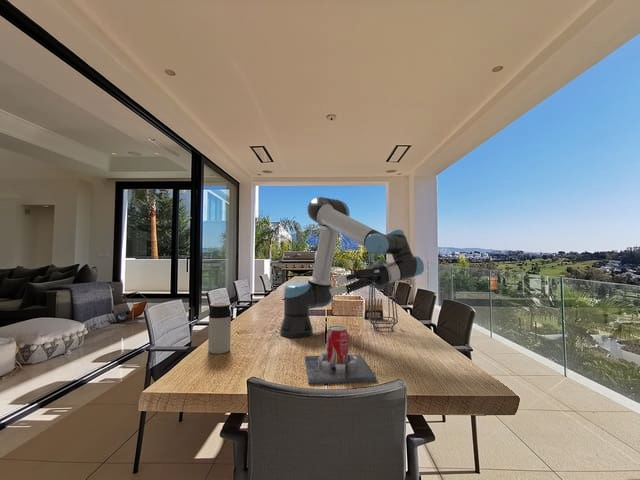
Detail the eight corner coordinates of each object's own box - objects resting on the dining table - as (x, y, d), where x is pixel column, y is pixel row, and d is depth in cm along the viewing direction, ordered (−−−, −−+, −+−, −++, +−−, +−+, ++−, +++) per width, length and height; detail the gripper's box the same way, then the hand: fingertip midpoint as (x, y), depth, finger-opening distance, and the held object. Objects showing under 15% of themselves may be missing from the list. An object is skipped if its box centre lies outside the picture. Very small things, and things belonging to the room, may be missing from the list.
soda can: (325, 361, 105) (325, 325, 106) (346, 361, 106) (346, 325, 106) (327, 369, 98) (327, 330, 99) (350, 369, 99) (350, 330, 99)
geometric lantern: (402, 333, 149) (400, 259, 150) (368, 334, 149) (367, 260, 150) (394, 325, 165) (393, 258, 166) (364, 326, 165) (363, 258, 166)
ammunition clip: (382, 318, 183) (382, 297, 184) (383, 319, 181) (383, 298, 182) (364, 318, 183) (364, 297, 183) (364, 319, 181) (364, 298, 181)
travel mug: (227, 354, 117) (228, 305, 118) (205, 354, 117) (206, 305, 117) (232, 347, 125) (233, 301, 126) (211, 348, 125) (212, 301, 125)
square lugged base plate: (308, 384, 91) (308, 370, 91) (304, 360, 111) (305, 349, 111) (376, 382, 93) (376, 368, 93) (360, 359, 113) (360, 347, 113)
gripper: (401, 271, 109) (344, 286, 104) (378, 292, 132) (330, 305, 126) (392, 252, 112) (337, 265, 107) (372, 275, 134) (325, 287, 129)
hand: (333, 287), depth 117 cm, fingers open, 13 cm apart
